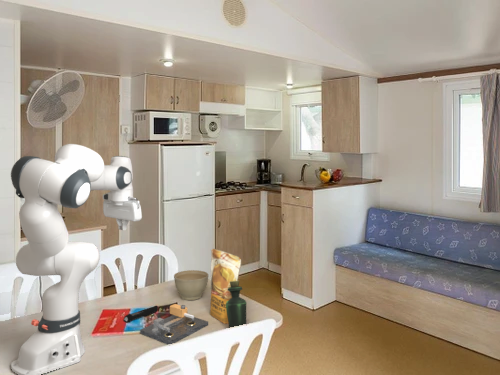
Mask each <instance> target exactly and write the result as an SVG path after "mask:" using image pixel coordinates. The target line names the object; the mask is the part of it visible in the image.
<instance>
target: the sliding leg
mask: <svg viewBox="0 0 500 375" xmlns="http://www.w3.org/2000/svg"><path fill="white" fill-rule="evenodd" d="M187 313H188V307H186V305H185V304H181V305H180V304H177V303H174V304H171V305H169V314H170V315H171V316H172V315H175V316H178V317H181V318H183V317H185V316H186V317H189V318H192V322H194V317H195V315H192V314H191V315H190V313H188V314H187Z"/></svg>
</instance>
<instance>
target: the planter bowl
mask: <svg viewBox="0 0 500 375" xmlns="http://www.w3.org/2000/svg"><path fill="white" fill-rule="evenodd" d="M173 279H174V286H175V288H176V291H177V292H178V294H179V295H180V298H181V299H182V300H184V301H185V300H186V301H196V300H199V299H201V298H202V295H203V293H204V292H205V290H206V288H207V286H208V282H209V273H208V272H207V271H204V270H194V269H191V270H189V269H188V270H187V269H186V270H182V271H179V272H176V273H174V275H173Z"/></svg>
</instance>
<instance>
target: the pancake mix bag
mask: <svg viewBox="0 0 500 375" xmlns="http://www.w3.org/2000/svg"><path fill="white" fill-rule="evenodd" d="M210 255H211V256H210V257H211V259H210V260H211V261H210V310H209V315H210V316H211V317H212V318H214V319H215V320H217V321H219V322H220V323H222V324H224V325H229V323H228V317H227V310H226V302H227V301H228V300H230V299H231V298H232V296H231V293H230V291H228V288H229V287H231V285H230V281H239V275H240V271H241V267H242V259H241V257H240V256H239V255H236V254H232V253H229V252H226V251H224V250H220V249H218V248H217V249H216V248H212V249H210Z"/></svg>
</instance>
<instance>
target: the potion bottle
mask: <svg viewBox="0 0 500 375" xmlns="http://www.w3.org/2000/svg"><path fill="white" fill-rule="evenodd" d="M230 285H231V287H229V288H228V291H230V293H231V296H232V298H231V299H230V300H228V301H227V302H226V310H227V317H228V323H229V324H228V328H230V327H234V326H239V325H243V324H246V325H247V301H246V299H244V298H242V297H240V293H241V291H242V290H243V288H242V286H239V285H240V280H238V281H230Z"/></svg>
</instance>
